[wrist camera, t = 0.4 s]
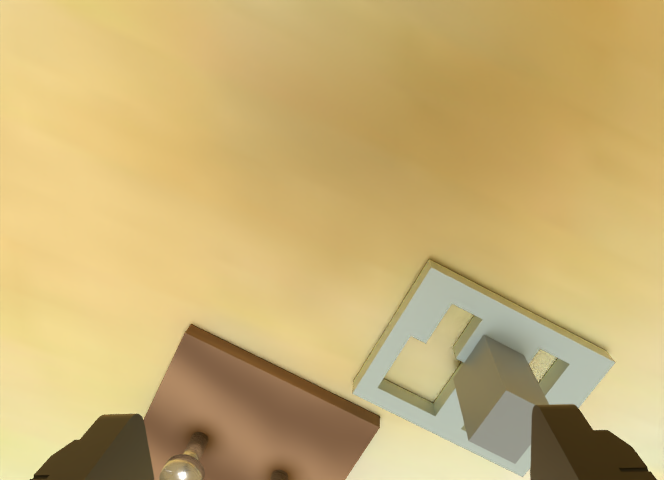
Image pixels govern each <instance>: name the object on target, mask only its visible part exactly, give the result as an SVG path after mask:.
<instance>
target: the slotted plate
mask: <svg viewBox="0 0 664 480" xmlns="http://www.w3.org/2000/svg"><path fill="white" fill-rule="evenodd" d="M451 304H454V305H456V306H457V307H459V308H461V309H463V310H465V311H467V312H469V313H471V314H473V315H474V316H473V318H472V319H471V321H470V322H469V324H468V325H467V327H466V328H465V330H464V331H463V333H462V334H461V336H460V337H459V339H458V340H457V342H456V343H455V345H454V346H453V350H454V354H455V357H456V359H458V360H460V361H462V362H461V364H460V365H459V367H458V368H457V370H456V371H455V373H454V374H453V375H452V377H451V378H450V380H449V381H448V383H447V384H446V386H445V387H444V388H443V390H442V391H441V393H440V394H439V396H438V397H437V399H436V400H435V401H434V403H432V402H430V401H428V400H426V399H424V398H422V397H420V396H417V395H415V394H413V393H411V392H409V391H407V390H405V389H403V388H401V387H399V386H397V385H395V384H393V383H391V382H389V381H387V380H385V379H383V378H384V377H385V375H386V374H387V372H388V370H389V369H390V367H391V366H392V364H393V363H394V361H395V360H396V358H397V356H398V355H399V353H400V352H401V350H402V349H403V347H404V346H405V344H406V342H407V341H408V339H409V338H410V336H412V337H414V338H416V339H418V340H420V341H422V342H424V343H426V342H427V341H428V339H429V338H430V336H431V335H432V333H433V332H434V330H435V329H436V327H437V326H438V324H439V323H440V321H441V320H442V318H443V316H444V315H445V313H446V312H447V310H448V309H449V307H450V306H451ZM539 349H541V350H543V351H545V352H547V353H549V354H551V355H553V356H555V357H557V360H556V361H555V362H554V364H553V365H552V366H551V368H550V369H549V370H548V372H547V373H546V374H545V376H544V377H543V378H542V379H541V381H540V382H539V383H538V381H537V380H536V378H535V376H534V374H533V372H532V370H531V368H530V366H529V363H530V362H531V360H532V359H533V357H534V356H535V355H536V353H537V352H538V351H539ZM614 364H615V361H614V360H613V359H612V358H611V356H610V355H609V354H608V353H607V351H606V350H604V349H602V348H600V347H598V346H596V345H594V344H592V343H590V342H588V341H586V340H584V339H582V338H580V337H579V336H577V335H575V334H573V333H571V332H569V331H567V330H565V329H563V328H561V327H559V326H557V325H555V324H553V323H551V322H550V321H548V320H546V319H544V318H542V317H540V316H538V315H536V314H534V313H532V312H530V311H528V310H526V309H524V308H523V307H521V306H519V305H517V304H515V303H513V302H511V301H509V300H507V299H505V298H503V297H501V296H499V295H497V294H495V293H494V292H492V291H490V290H488V289H486V288H484V287H482V286H480V285H478V284H476V283H474V282H472V281H470V280H468V279H467V278H465V277H463V276H461V275H459V274H457V273H455V272H453V271H451V270H449V269H447V268H445V267H443V266H441V265H440V264H438V263H436V262H434V261H432V260H430V259H429V260H428V262H427V263H426V265H425V266H424V268H423V270H422V271H421V273H420V274H419V276H418V278H417V279H416V281H415V282H414V284H413V286H412V287H411V289H410V291H409V292H408V294H407V295H406V297H405V299H404V300H403V302H402V303H401V305H400V307H399V308H398V310H397V312H396V313H395V315H394V316H393V318H392V320H391V321H390V323H389V324H388V326H387V328H386V329H385V331H384V333H383V334H382V336H381V337H380V339H379V341H378V342H377V344H376V345H375V347H374V349H373V350H372V352H371V354H370V355H369V357H368V358H367V360H366V362H365V363H364V365H363V366H362V368H361V370H360V371H359V373H358V375H357V376H356V378H355V379H354V381H353V393H352V394H354V395H356V396H358V397H360V398H362V399H365V400H367V401H369V402H371V403H373V404H375V405H377V406H379V407H381V408H383V409H385V410H387V411H389V412H391V413H393V414H395V415H397V416H399V417H401V418H403V419H405V420H407V421H409V422H411V423H413V424H416V425H418V426H420V427H422V428H424V429H426V430H428V431H430V432H432V433H434V434H436V435H438V436H440V437H442V438H444V439H446V440H448V441H450V442H452V443H454V444H456V445H458V446H460V447H462V448H464V449H467V450H469V451H471V452H473V453H475V454H477V455H479V456H481V457H483V458H485V459H487V460H489V461H491V462H493V463H495V464H497V465H499V466H501V467H503V468H505V469H507V470H509V471H511V472H513V473H515V474H518V475H520V476H522V477H523V476H524V475H525V474H526V472H527V471H528V470H529V469H530V466H531V425H532V410H533V407H534V406H535V405H555V404H575V405H576V406H577V407H578V408H579V407H580V406H581V404H582V403H583V402H584V401H585V399H586V398H587V397H588V396H589V394H590V393H591V392H592V391H593V390H594V388H595V387H596V386H597V385H598V383H599V382H600V381H601V380H602V378H603V377H604V376H605V375H606V373H607V372H608V371H609V370H610V368H611V367H612V366H613V365H614Z"/></svg>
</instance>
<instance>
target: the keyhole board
mask: <svg viewBox="0 0 664 480" xmlns="http://www.w3.org/2000/svg"><path fill="white" fill-rule="evenodd" d="M144 424H145V429H146V434H147V440H148V446H149V451H150V457H151V462H152V468H153V473H154V480H159V476H160V473H161V471H162V469H163V467H164V466H165V464H166V462H167V460H168V459H169V458H170V457H172V456H174V455H178V454H183V453H184V451H185V449H186V447H187V445H188V443H189V441H190V439H191V437H192V435H193V434H194V433H196V432H202V433H204V434H206V435H207V437H208V443H207V445H206V448H205V450H204V452H203V454H202V457H201V459H200V461H199V462H200V463H201V464H202V465H203V467H204V470H205V477H204V480H270V479H271V475H272V473H273V472H274V471H276V470H283V471H285V472H286V473H287V475H288V480H345V479H346V478H347V476H348V474H349V473H350V471H351V470H352V468H353V467H354V465H355V464H356V462H357V461H358V459H359V458H360V456H361V455H362V453H363V452H364V450H365V449H366V447H367V446H368V444H369V443H370V441H371V440H372V438H373V437H374V435H375V434H376V432H377V431H378V429H379V428H380V416H378V415H376V414H374V413H372V412H370V411H367V410H365V409H363V408H361V407H359V406H357V405H355V404H353V403H351V402H349V401H347V400H345V399H343V398H341V397H339V396H337V395H335V394H333V393H331V392H329V391H327V390H324V389H322V388H320V387H318V386H316V385H314V384H312V383H310V382H308V381H306V380H304V379H302V378H300V377H298V376H296V375H294V374H292V373H290V372H288V371H286V370H284V369H282V368H279V367H277V366H275V365H273V364H271V363H269V362H267V361H265V360H263V359H261V358H259V357H257V356H255V355H253V354H251V353H249V352H247V351H245V350H243V349H241V348H239V347H237V346H234V345H232V344H230V343H228V342H226V341H224V340H222V339H220V338H218V337H216V336H214V335H212V334H210V333H208V332H206V331H204V330H202V329H200V328H198V327H196V326H194V325H190V326H189V328H188V329H187V331H186V332H185V334H184V336H183V338H182V340H181V342H180V344H179V346H178V349H177V351H176V353H175V355H174V357H173V359H172V361H171V363H170V365H169V368H168V370H167V372H166V374H165V376H164V378H163V380H162V382H161V384H160V387H159V389H158V391H157V393H156V395H155V397H154V399H153V401H152V403H151V406H150V408H149V410H148V412H147V414H146V416H145V418H144Z"/></svg>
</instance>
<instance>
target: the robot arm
mask: <svg viewBox="0 0 664 480" xmlns="http://www.w3.org/2000/svg"><path fill="white" fill-rule="evenodd" d="M530 476H531V480H657V479H656V478H655V477H654V475H653V474H652V473H651V472H648V469H647V466H646V465H645V463H644V462H643V461H642V460H641V458H640V457H639V456H638V454H637V453H636V452H635V450H634V449H633V448H632V447H631V446H630V445H628V444H627V443H626V442H624V441H623V440H621V439H620V438H618V437H617V436H616V435H614V434H613V433H611V432H610V431H608V430H593V429H592V428H591V426H590V425H589V423H588V422H587V420H586V419H585V417H584V416H583V414H582V413H581V411H580V410H579V409H578V407H577V406H576V405H575V404H555V405H535V406H534V407H533V410H532V425H531V466H530ZM30 480H154V473H153V468H152V462H151V457H150V451H149V446H148V440H147V434H146V429H145V424H144V420H143V418H142V416H141V415H139V414H110V415H102V416H100V417H99V418H98V419H97V420H96V421H95V422H94V424H93V425H92V426H91V427H90V428H89V429H88V431H87V432H86V433H85V434H84V435H83V437H82V438H81V439H80V440H74V441H73V442H71V443H70V444H68V445H67V446H65V447H64V448H62V449H61V450H59V451H58V452H56V453H55V454H53V455H52V456H51V457H50V458H49V459H48V460H47V461H46V462H45V463H44V464H43V465H42V467H41V468H40V469H39V470H38V471H37V472H36V473H35V474H34V478H33V479H30Z"/></svg>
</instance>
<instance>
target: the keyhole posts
mask: <svg viewBox="0 0 664 480" xmlns="http://www.w3.org/2000/svg"><path fill="white" fill-rule="evenodd" d="M207 443H208V437H207V435H206V434H204V433H202V432H196V433H194V434H193V435H192V437H191V439H190V441H189V443H188V445H187V447H186V449H185V451H184V453H183V454H178V455H174V456H172V457H170V458H169V459H168V460H167V462H166V464H165V466H164V467H163V469H162V471H161V473H160V476H159V480H204V477H205V470H204V467H203V465H202V464H201V463H200V462H199V461H200V459H201V457H202V454H203V452H204V450H205V448H206V445H207ZM270 480H288V475H287V473H286V472H285V471H283V470H276V471H274V472H273V473H272V475H271V479H270Z"/></svg>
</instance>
